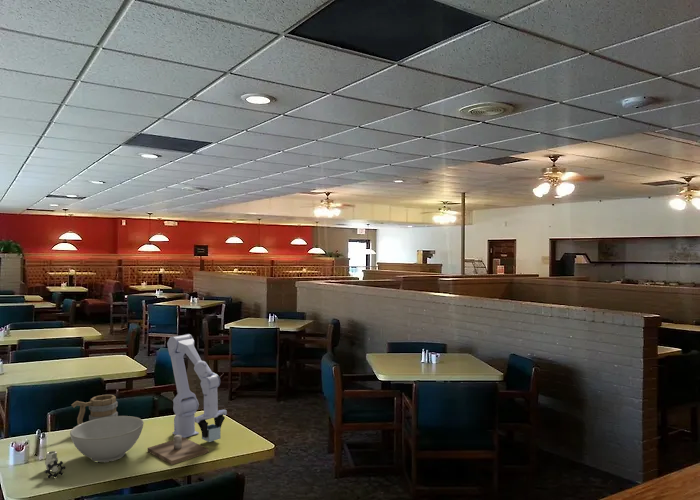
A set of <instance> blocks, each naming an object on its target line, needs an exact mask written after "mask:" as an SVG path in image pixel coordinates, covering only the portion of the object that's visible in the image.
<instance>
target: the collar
mask: <svg viewBox="0 0 700 500" xmlns="http://www.w3.org/2000/svg"><path fill="white" fill-rule="evenodd" d="M221 437H222V436H221V429H220V426H217V425H215V423H212V424H208V426H207V438H204V437H203V435H202V434H201V439H202V440H204V441H206V442H207V443H210V442H214V441H216V440H220V439H221Z"/></svg>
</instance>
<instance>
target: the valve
mask: <svg viewBox="0 0 700 500" xmlns="http://www.w3.org/2000/svg"><path fill="white" fill-rule="evenodd" d="M57 455H58V453H57V450H50V451H48V452H46V453H45V461H44V464H45V467H46V469H47V470H46V469H45V471H44V473H45V474H46V475H47V478H48V479H51V478H52V477H53V478H54V477H56V476H57V477H58V475H59V476H63V475H64V472H63V470H66V469H67V468H66V465H64V461H62V460H61V461H59V459H58V456H57ZM58 461H59V462H58ZM62 465H63V466H62ZM59 467H60V469H59ZM50 470H52V471H50ZM52 472H53V473H52ZM50 477H51V478H50Z"/></svg>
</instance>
